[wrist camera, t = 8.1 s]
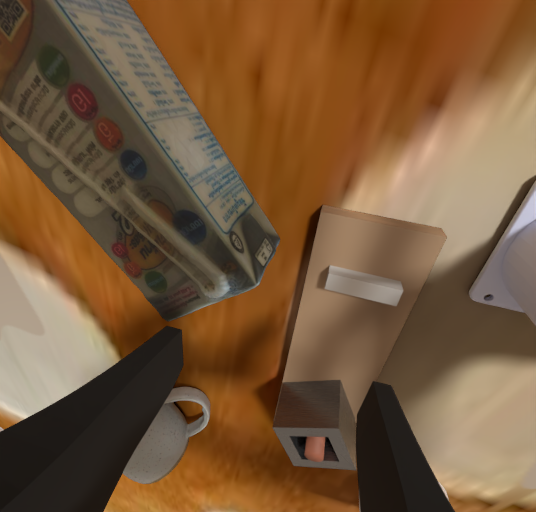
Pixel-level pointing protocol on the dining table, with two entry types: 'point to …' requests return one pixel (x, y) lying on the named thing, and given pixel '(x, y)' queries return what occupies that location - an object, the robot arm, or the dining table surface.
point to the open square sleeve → (316, 423)
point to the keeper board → (357, 300)
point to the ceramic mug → (166, 438)
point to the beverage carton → (128, 152)
